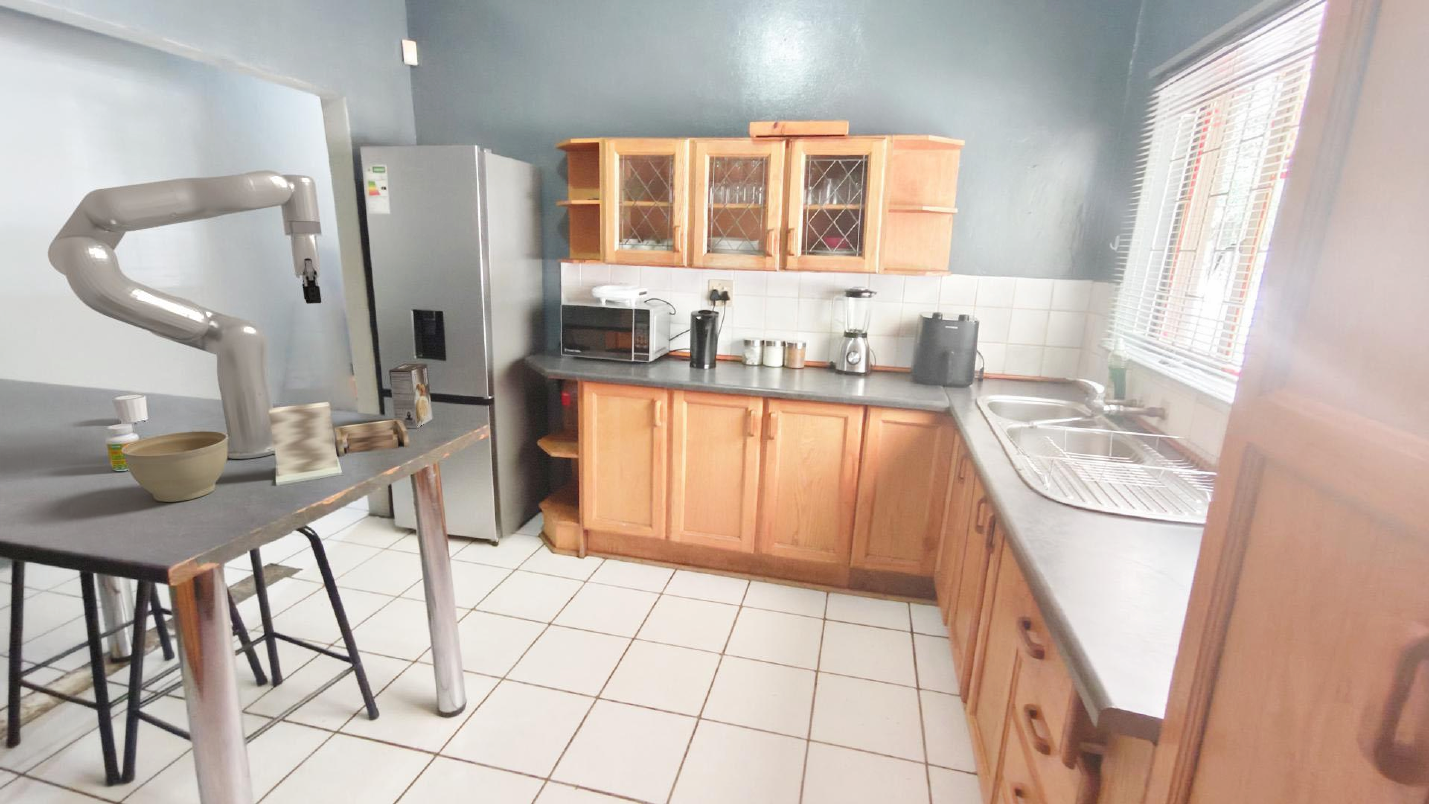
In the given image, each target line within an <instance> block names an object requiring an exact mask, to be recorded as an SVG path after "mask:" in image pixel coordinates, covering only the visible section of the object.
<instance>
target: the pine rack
mask: <svg viewBox="0 0 1429 804" xmlns="http://www.w3.org/2000/svg"><path fill="white" fill-rule="evenodd" d="M384 430H393V433H394V434H398V439H399V440H400V441H401V443H402V444H403V446H404V447H409V446H410V441H409V432H408V431H409V430H408V428H406V427H405V426H404V424H403V423H402V421H401V420H400V419H396V420H395V419H391V420H390V419H389V420H388V419H387V420H381V421H373V422H365V423H364V422H363V423H359V424H357V423H355V424H349V425H341V426H340V425H339V426H333V432H334V440H335V446H336V447H337V449H336V450H337V452H338V455H339V456H340V457H342V456H345V449H344V444H345V443H346V444H347V436H348V434H350V433H362V432H373V431H384Z"/></svg>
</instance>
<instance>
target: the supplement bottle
mask: <svg viewBox="0 0 1429 804" xmlns="http://www.w3.org/2000/svg"><path fill="white" fill-rule="evenodd" d="M133 431H134V428H133V425H132V424H121V423H119V424H113V425H110V426H107V433H108V435H110V436H108V437H107V438H106V440H105V444H106V447H107V451H108V457H109V461H110V466H111V470H112V469H114V470H125V469H128V467H127V464H126V461H125V458H124V457H123V455H122V452H121V450H122V448H123V447H125V446H126V445H128V444H130V443H133V442H135V441H138V440H141V439H140V436H139V434H137V433H134V432H133Z"/></svg>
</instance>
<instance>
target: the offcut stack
mask: <svg viewBox="0 0 1429 804" xmlns="http://www.w3.org/2000/svg"><path fill="white" fill-rule="evenodd" d="M346 444H347V447H346V454H353V452H356V453H365V452H373V451H372V450H376V451H380V450H379V449H386V450H393V449H394V450H395V449H399V436H398V434H394V433H393V430H384V431H373V432H362V433H350V434H348V436H347V443H346Z"/></svg>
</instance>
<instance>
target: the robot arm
mask: <svg viewBox="0 0 1429 804" xmlns="http://www.w3.org/2000/svg"><path fill="white" fill-rule="evenodd" d="M278 206H280V207H281V214H282V223H283V228H284V236H290V244H291V245H290V246H291V253H292V261H293V268H294V275H295V277H296V278H297V279H300V278H302V282H303V283H302V284H301V286H302V291H303V293H302V294H303V297H304V298H303V299H304V300H305V303H306V304H321V303H322V295H321V289H320V286H319V281H318V278H319V277H320V275H321V274H320V273H321V272H320V270H321V269H320V257H319V248H318V247H319V246H318V241H317V237H321V236H323V234H322V226H321V221H320V211H319V204H318V197H317V188H316V183H315V180H314V179H313V178H312V177H311V176H308V175H302V174H282V173H281V174H280V173H279V172H277V171H273V170H267V169H266V170H255V171H249V172H245V173H240V174H233V175H231V174H230V175H223V176H212V177H211V176H210V177H207V176H206V177H185V178H175V179H168V180H160V181H153V182H146V183H145V182H144V183H137V184H128V185H121V186H114V187H112V186H111V187H103V188H98V189H94V190H92V191H90V192H88V193H87V194H86V195H85V196H84V197H83V198H82V199H81V201H80V202H79V204H78V205H77V206H76V207H75V209H74V210H73V212H72V214H71V215H70V217H69V218H68V219H67V221H66V222H65V223H64V224H63V226H62V227H61V228H60V230H59V231H58V232H57V234H56V235H55V237H54V238H53V240H52V241H51V243H50V244H49V247H48V249H47V258H48V261H49V263H50V265H51V266H52V268H54V269H55V271H57V272H59V273H60V274H61V275H63V276H65V278H66V280H67V283H68V285H69V287H70V289H71V291H72V292H73V293H74V294H75V296H76V297H77V298H78V299H79V300H80V301H81V302H82V303H83V304H84V305H85V306H87V307H88V308H89V309H92V310H93V311H94V312H97V313H99V314H101V315H103V316H105V317H108V318H110V319H114V320H116V321H120V322H122V323H126V324H127V325H129V326H130V325H131V326H132V327H136V328H140V329H142V330H144V331H145V330H146V331H148V332H149V333H151V334H152V335H155V336H156V337H159V338H162V339H165V340H168V341H172V342H175V343H178V344H181V345H185V346H188V347H191V348H195V349H197V350H200V351H203V352H206V353H209V354H213V355H216V376H217V382H218V389H219V394H220V398H221V404H222V405H221V406H222V409H223V416H224V420H225V427H226V431H227V432H226V435H227V436H228V442H227V447H228V455H227V459H230V460H231V459H232V460H244V459H245V460H247V459H254V458H262V457H266V456H271V455H274V454H275V448H274V442H273V436H272V430H271V424H270V417H269V408H274V405H273V398H272V392H271V385H270V380H269V373H268V363H267V355H268V353H267V352H268V349H267V348H268V347H267V339H266V337H265V334H264V332H263V330H262V329H261V328H259V326H257V325H256V324H255V323H253V322H252V321H250V320H247V319H245V318H240V317H235V316H229V315H226V314H223V313H220V312H218V311H214V310H212V309H209V308H207V307H203V306H200V305H199V304H197V303H195V302H194V301H192V300H190V299H187V298H183V297H180V296H174V295H171V294H168V293H165V292H163V291H160V290H157V289H154V288H152V287H150V286H147V285H146V284H142V283H139V282H137V281H135V280H133V279H131V278H130V277H128V276H126V274H124V272H123V271H122V269H121V268H120V264H119V261H118V257H117V255H116V253H115V250H116V248H117V247H118V245H119V244H120V242H121V241H122V239H123V238H124V236H125V234H126V233H127V232H134V231H143V230H147V229H153V228H158V227H164V226H170V225H175V224H176V225H177V224H182V223H188V222H193V221H202V220H207V219H213V218H214V219H215V218H217V217H220V216H226V215H231V214H232V215H233V214H237V213H243V212H244V213H245V212H250V211H255V210H261V209H269V208H274V207H278ZM301 276H302V277H301Z"/></svg>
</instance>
